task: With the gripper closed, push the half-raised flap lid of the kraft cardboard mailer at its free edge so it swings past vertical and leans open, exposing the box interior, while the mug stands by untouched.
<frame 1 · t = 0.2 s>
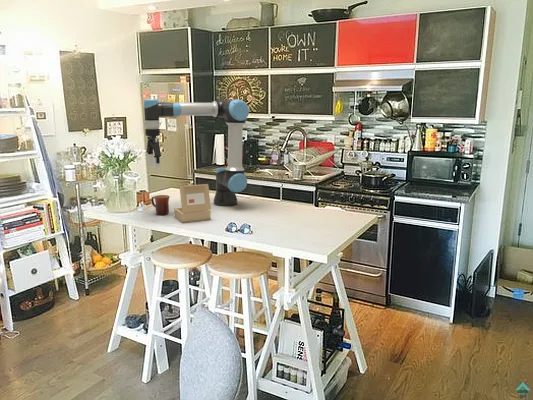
hand: (154, 167, 245), 28 cm above the table, fingers open, 13 cm apart
mug: (160, 213, 259), on the table
mailer box: (192, 218, 250), on the table
lid: (196, 197, 241), point 13 cm above the table, hinge at 75.0°
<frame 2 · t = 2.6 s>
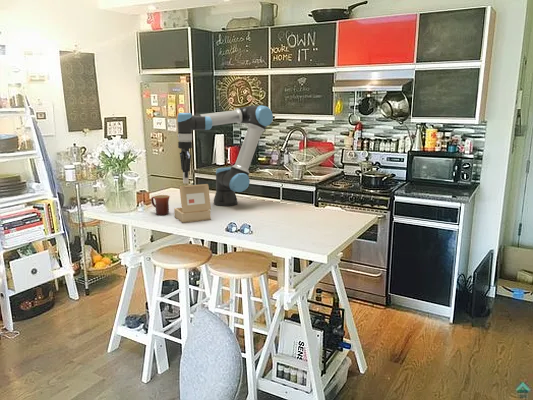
hand: (185, 183, 253), 18 cm above the table, fingers closed
nothing on the table moved.
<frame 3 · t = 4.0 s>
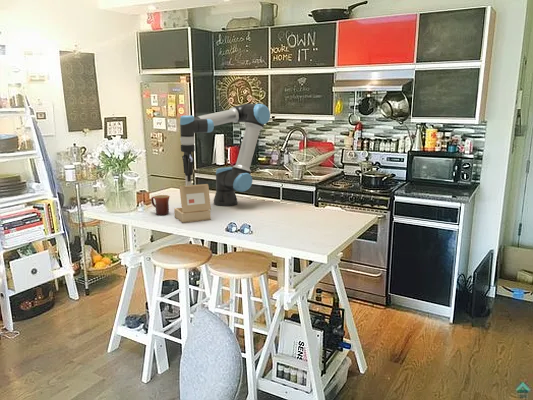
hand: (188, 186, 250), 17 cm above the table, fingers closed
nothing on the table moved.
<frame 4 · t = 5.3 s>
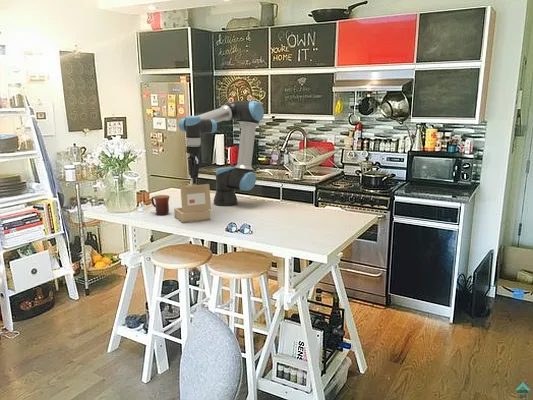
hand: (193, 189, 242), 17 cm above the table, fingers closed
lid: (196, 198, 240), point 13 cm above the table, hinge at 82.0°, touching gripper
everything else where it was.
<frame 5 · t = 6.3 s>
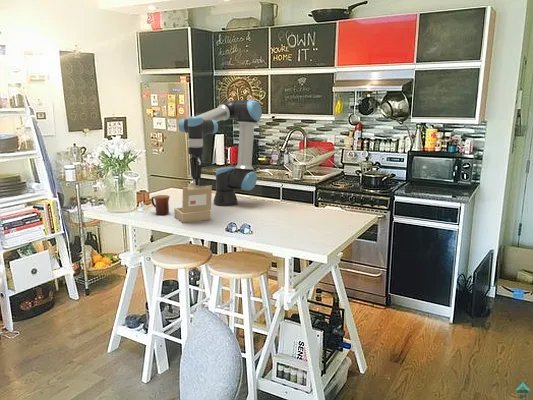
hand: (196, 190, 239), 17 cm above the table, fingers closed
lid: (198, 200, 238), point 12 cm above the table, hinge at 98.0°, touching gripper
everything else where it was.
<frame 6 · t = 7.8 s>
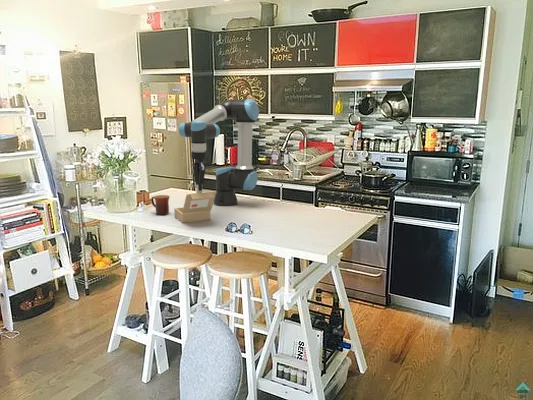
hand: (199, 196, 235), 15 cm above the table, fingers closed
lid: (200, 204, 237), point 11 cm above the table, hinge at 124.2°, touching gripper
everything else where it was.
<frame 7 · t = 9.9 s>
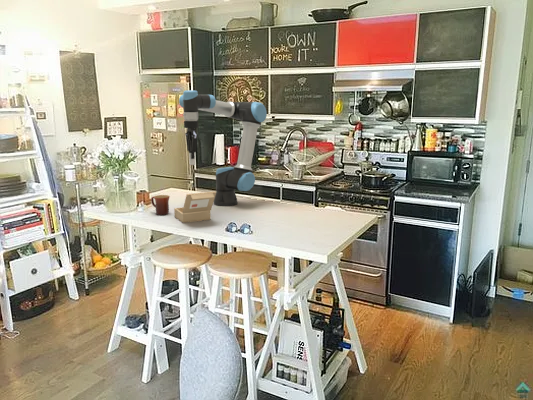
hand: (192, 164, 242), 30 cm above the table, fingers closed
lid: (200, 204, 237), point 11 cm above the table, hinge at 124.2°
everything else where it was.
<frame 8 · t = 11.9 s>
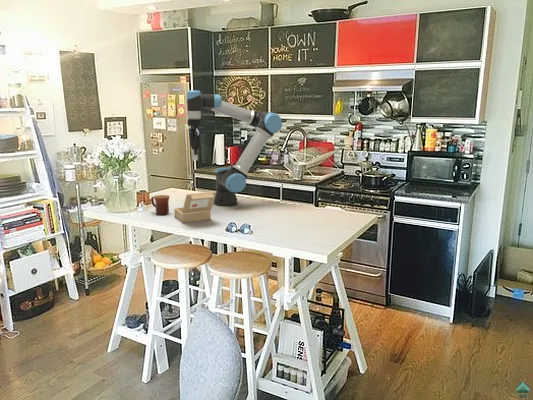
hand: (195, 160, 257), 30 cm above the table, fingers closed
nothing on the table moved.
at the end: lid at +124° (first picture: +75°); mug moved 0.2 cm from its start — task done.
